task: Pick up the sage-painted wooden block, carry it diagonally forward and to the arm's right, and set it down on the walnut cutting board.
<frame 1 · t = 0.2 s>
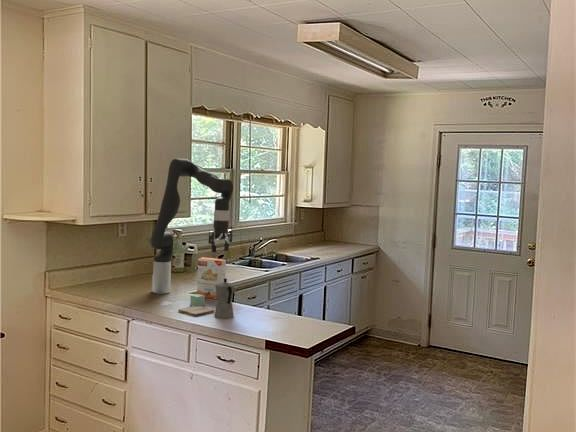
hand: (220, 251, 284), 28 cm above the worktop, fingers open, 8 cm apart
cracker box: (210, 297, 306), on the worktop
coffeepot: (224, 317, 268), on the worktop
walnut board: (196, 312, 274), on the worktop
sage block: (197, 305, 288), on the worktop
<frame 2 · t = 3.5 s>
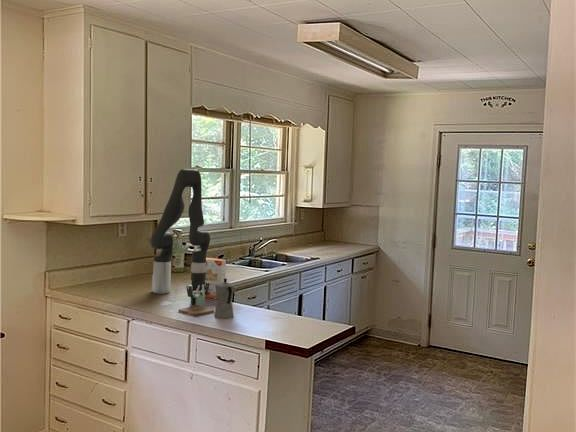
hand: (197, 304, 288), 0 cm above the worktop, fingers closed on sage block, 5 cm apart
sage block: (197, 305, 288), on the worktop, touching gripper
everything else where it was.
when the fingers open (3 cm above the worktop, at t = 9.7 s): sage block drops 1 cm, resting on walnut board.
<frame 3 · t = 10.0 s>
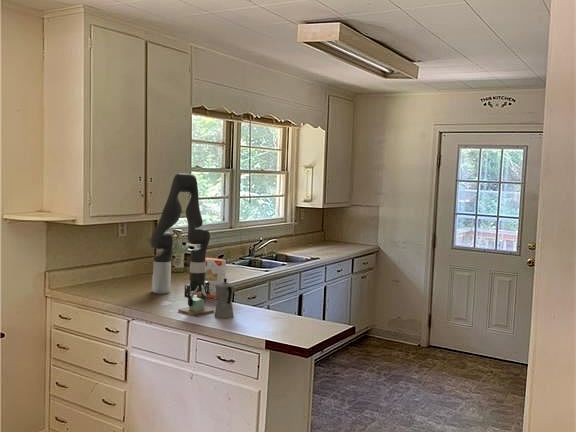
hand: (196, 304, 274), 4 cm above the worktop, fingers open, 7 cm apart
sage block: (196, 309, 274), point 1 cm above the worktop, touching walnut board
everything else where it was.
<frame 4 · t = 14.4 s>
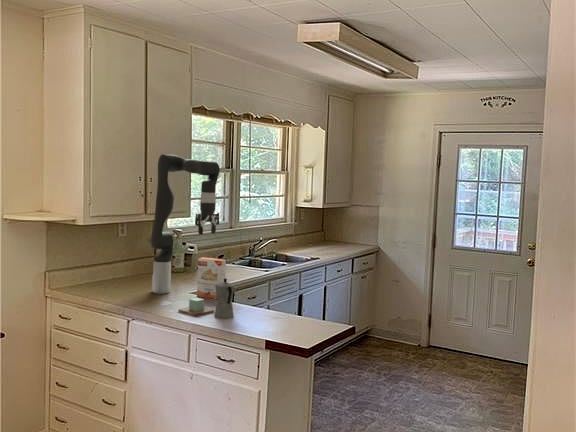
hand: (206, 233, 286), 36 cm above the worktop, fingers open, 8 cm apart
nothing on the worktop moved.
at the end: sage block inside the target area on the walnut board (0.1 cm from its centre), point 1.2 cm above the walnut board's base; sage block tilted 0°; the gripper is holding nothing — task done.
